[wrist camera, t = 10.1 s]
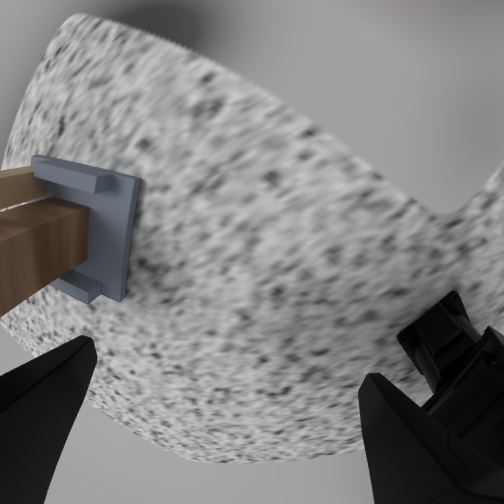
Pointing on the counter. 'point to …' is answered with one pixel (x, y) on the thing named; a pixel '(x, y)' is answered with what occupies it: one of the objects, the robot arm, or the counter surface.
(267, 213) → the counter surface
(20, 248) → the rail end
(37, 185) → the base with wooden posts
